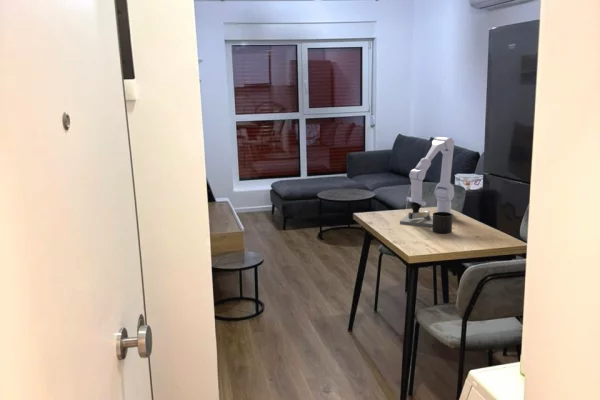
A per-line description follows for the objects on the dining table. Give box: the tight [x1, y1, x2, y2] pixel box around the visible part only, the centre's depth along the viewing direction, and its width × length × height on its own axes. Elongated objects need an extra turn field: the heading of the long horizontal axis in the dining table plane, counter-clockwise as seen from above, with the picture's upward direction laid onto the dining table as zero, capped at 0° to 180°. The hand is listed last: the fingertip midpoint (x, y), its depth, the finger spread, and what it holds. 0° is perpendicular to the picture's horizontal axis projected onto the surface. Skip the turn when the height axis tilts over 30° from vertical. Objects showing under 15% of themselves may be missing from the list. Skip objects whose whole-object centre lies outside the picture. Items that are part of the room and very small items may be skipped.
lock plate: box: [399, 213, 433, 228], centre depth 290 cm, size 18×22×2 cm
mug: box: [431, 211, 453, 235], centre depth 270 cm, size 9×12×9 cm
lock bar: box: [408, 210, 431, 219], centre depth 289 cm, size 12×3×3 cm, turn 109°
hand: (415, 216), depth 290 cm, fingers closed, pressing on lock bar
